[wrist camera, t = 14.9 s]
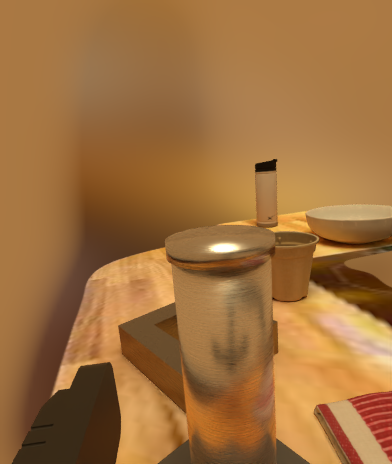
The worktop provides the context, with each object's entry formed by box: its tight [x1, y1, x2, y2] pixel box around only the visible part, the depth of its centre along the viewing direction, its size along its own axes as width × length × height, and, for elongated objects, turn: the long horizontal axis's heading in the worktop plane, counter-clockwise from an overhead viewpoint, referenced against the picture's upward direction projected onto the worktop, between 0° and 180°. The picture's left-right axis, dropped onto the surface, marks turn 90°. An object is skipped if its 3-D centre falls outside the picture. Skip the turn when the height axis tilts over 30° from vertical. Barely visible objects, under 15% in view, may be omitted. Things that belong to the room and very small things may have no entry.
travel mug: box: [255, 159, 278, 227], centre depth 93 cm, size 6×7×20 cm
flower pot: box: [271, 231, 319, 301], centre depth 45 cm, size 9×9×9 cm
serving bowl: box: [306, 205, 392, 244], centre depth 72 cm, size 21×21×7 cm
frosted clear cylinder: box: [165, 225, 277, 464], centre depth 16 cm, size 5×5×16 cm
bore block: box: [118, 302, 278, 413], centre depth 33 cm, size 12×12×4 cm
